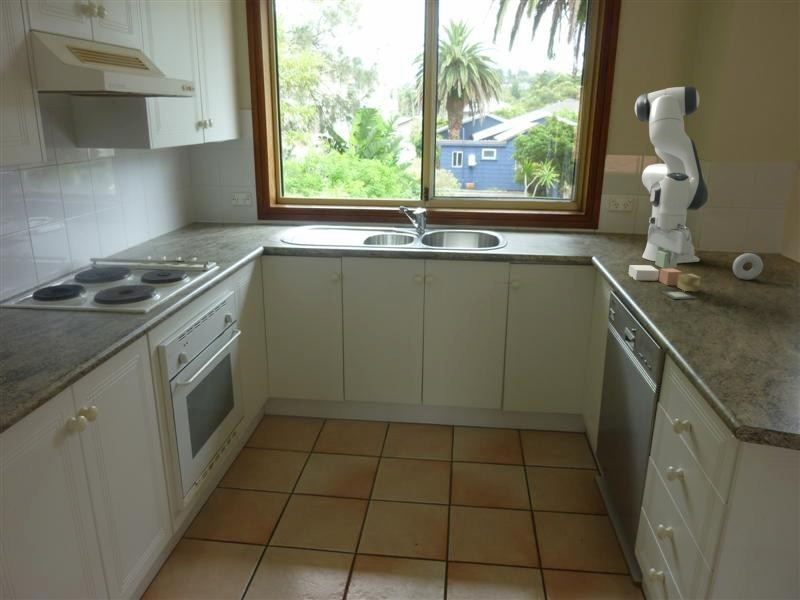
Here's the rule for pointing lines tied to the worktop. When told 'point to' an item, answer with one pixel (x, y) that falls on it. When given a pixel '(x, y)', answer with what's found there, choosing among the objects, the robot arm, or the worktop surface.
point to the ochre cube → (688, 282)
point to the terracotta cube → (669, 276)
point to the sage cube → (664, 259)
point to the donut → (745, 258)
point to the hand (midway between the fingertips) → (666, 261)
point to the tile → (679, 295)
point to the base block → (643, 272)
